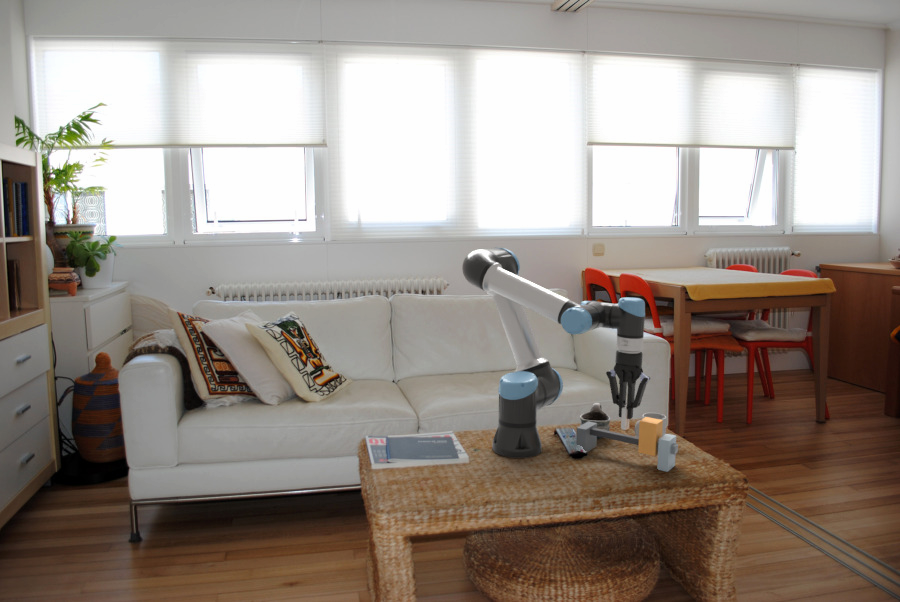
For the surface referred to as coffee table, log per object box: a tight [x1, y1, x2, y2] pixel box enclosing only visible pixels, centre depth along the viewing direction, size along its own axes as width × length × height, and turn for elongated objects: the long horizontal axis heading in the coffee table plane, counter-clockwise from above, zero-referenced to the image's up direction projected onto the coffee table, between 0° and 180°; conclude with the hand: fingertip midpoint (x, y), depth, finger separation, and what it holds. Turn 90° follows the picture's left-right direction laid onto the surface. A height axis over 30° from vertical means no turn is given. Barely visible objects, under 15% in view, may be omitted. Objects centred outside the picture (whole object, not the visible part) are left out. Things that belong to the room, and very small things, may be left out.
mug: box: [579, 402, 611, 440], centre depth 217 cm, size 10×12×10 cm
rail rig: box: [575, 421, 679, 473], centre depth 197 cm, size 29×8×9 cm, turn 53°
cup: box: [634, 412, 667, 437], centre depth 210 cm, size 7×10×9 cm
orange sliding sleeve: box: [637, 417, 663, 457], centre depth 192 cm, size 5×5×10 cm
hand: (624, 428), depth 197 cm, fingers closed
